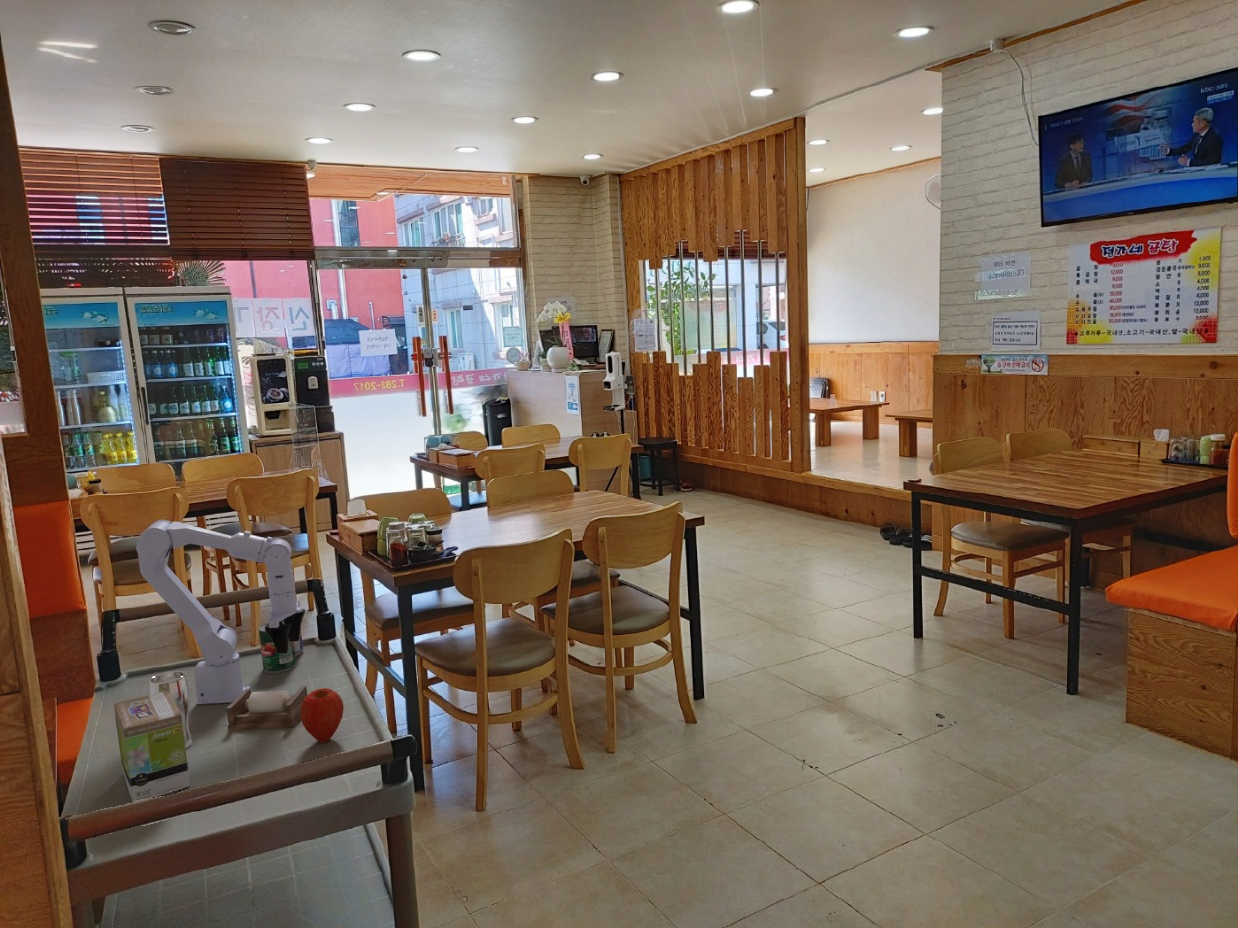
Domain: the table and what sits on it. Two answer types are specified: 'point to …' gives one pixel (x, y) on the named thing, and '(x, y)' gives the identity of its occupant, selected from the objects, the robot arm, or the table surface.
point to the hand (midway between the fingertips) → (288, 646)
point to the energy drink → (298, 646)
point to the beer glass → (175, 695)
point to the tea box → (152, 745)
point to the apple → (322, 713)
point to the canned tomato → (275, 654)
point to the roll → (267, 702)
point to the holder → (244, 720)
